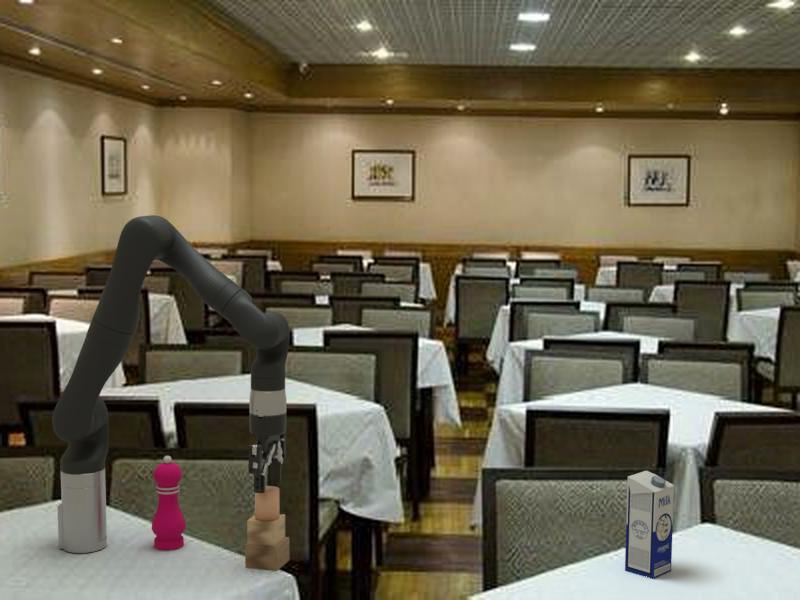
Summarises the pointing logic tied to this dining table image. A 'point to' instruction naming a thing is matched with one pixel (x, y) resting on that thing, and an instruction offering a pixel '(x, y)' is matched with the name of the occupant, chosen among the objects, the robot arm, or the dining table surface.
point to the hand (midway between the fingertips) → (267, 487)
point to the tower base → (267, 556)
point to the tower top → (265, 531)
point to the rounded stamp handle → (267, 504)
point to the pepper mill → (168, 507)
